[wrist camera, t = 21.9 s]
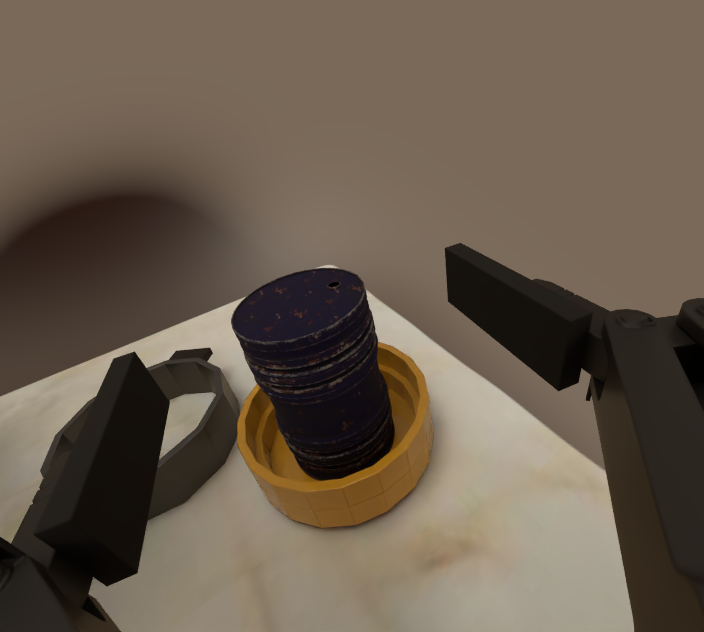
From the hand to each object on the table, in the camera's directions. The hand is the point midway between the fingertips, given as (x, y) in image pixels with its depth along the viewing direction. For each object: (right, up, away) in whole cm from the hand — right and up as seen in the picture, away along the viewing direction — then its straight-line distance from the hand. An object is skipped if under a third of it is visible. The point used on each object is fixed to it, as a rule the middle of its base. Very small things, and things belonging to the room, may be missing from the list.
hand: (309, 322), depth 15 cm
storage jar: (+1, -11, +18) cm, 21 cm away
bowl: (+1, -11, +18) cm, 22 cm away
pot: (-18, -13, +22) cm, 32 cm away
